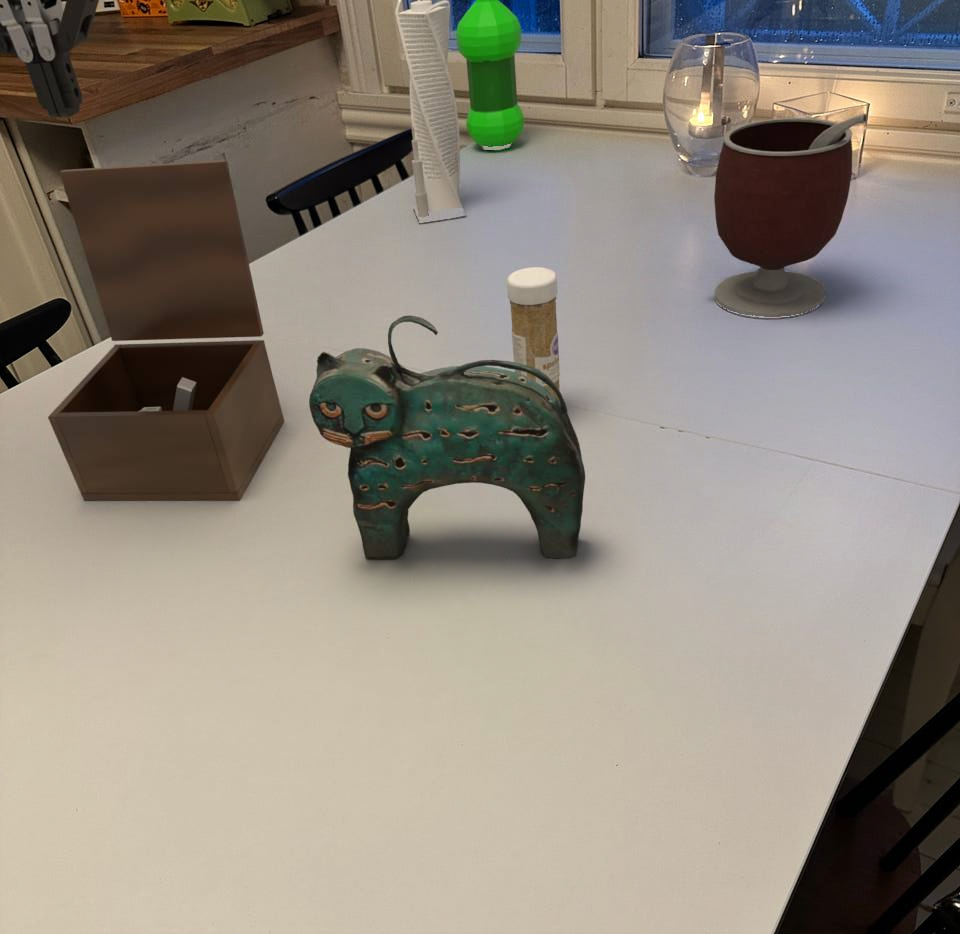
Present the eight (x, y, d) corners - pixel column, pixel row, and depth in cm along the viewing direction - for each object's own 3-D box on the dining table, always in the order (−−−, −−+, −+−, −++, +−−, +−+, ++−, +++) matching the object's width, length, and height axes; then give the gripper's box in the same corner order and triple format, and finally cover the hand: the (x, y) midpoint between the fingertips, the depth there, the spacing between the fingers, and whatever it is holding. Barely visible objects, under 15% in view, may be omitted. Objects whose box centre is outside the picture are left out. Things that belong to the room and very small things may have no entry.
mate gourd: (682, 302, 112) (692, 111, 98) (755, 264, 118) (774, 80, 105) (796, 337, 102) (824, 132, 89) (869, 294, 109) (905, 97, 95)
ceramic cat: (342, 567, 79) (288, 335, 66) (360, 522, 84) (313, 297, 70) (584, 570, 76) (579, 327, 62) (588, 523, 80) (584, 287, 67)
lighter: (143, 463, 93) (115, 388, 88) (149, 454, 94) (122, 379, 89) (213, 460, 92) (189, 384, 87) (218, 451, 94) (195, 375, 88)
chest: (239, 500, 88) (213, 414, 82) (83, 500, 91) (47, 417, 85) (284, 420, 99) (264, 339, 93) (143, 423, 101) (115, 344, 95)
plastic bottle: (459, 156, 164) (442, -19, 148) (479, 138, 172) (465, -30, 155) (515, 156, 161) (504, -23, 145) (533, 137, 169) (524, -34, 152)
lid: (223, 161, 83) (226, 159, 84) (58, 171, 86) (63, 169, 86) (261, 336, 92) (264, 333, 93) (111, 341, 95) (115, 338, 95)
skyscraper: (411, 206, 146) (383, -12, 128) (463, 198, 147) (443, -20, 129) (419, 224, 140) (390, -4, 122) (473, 215, 141) (452, -12, 122)
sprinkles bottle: (561, 419, 94) (555, 283, 85) (514, 420, 94) (504, 286, 85) (562, 396, 97) (557, 263, 88) (517, 398, 98) (508, 266, 89)
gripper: (84, -196, 64) (164, 96, 75) (-93, -173, 66) (11, 108, 77) (30, -192, 58) (126, 122, 70) (-162, -168, 60) (-38, 134, 72)
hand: (65, 114), depth 73 cm, fingers closed
